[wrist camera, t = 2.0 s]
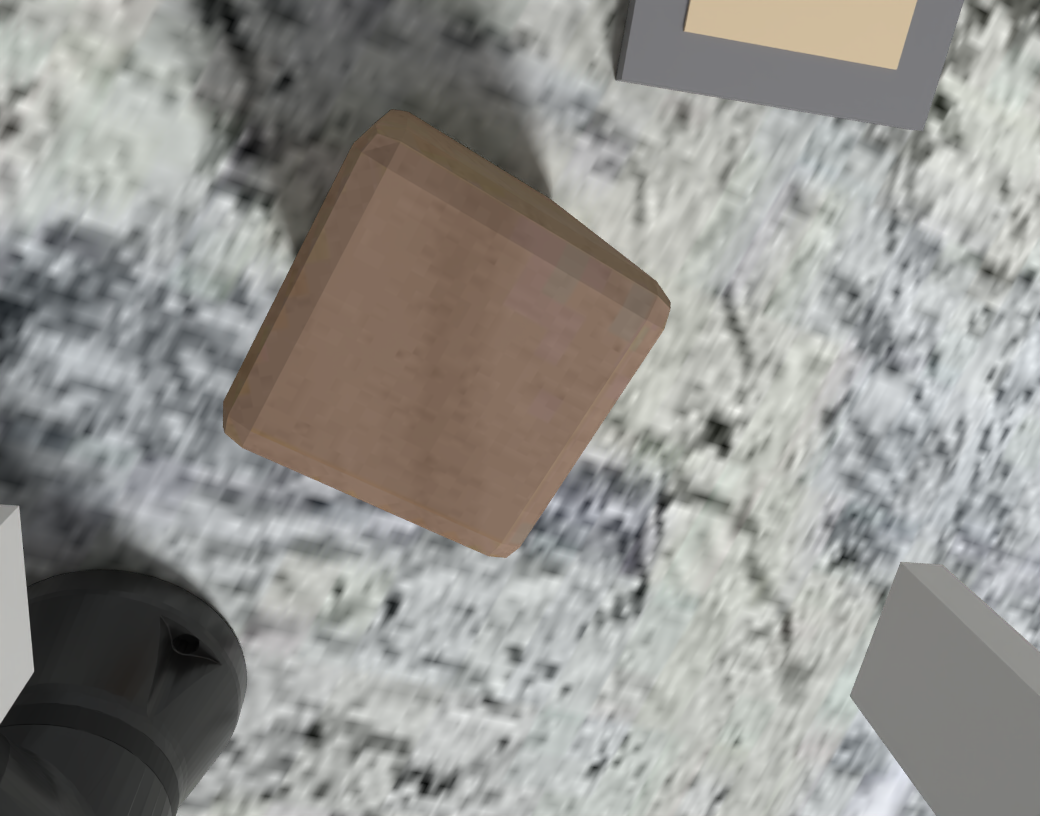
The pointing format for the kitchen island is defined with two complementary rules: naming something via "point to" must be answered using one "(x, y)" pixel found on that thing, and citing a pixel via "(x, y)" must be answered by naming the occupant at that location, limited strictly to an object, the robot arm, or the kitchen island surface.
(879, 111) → the board
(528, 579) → the kitchen island surface
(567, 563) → the kitchen island surface
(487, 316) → the wooden block
